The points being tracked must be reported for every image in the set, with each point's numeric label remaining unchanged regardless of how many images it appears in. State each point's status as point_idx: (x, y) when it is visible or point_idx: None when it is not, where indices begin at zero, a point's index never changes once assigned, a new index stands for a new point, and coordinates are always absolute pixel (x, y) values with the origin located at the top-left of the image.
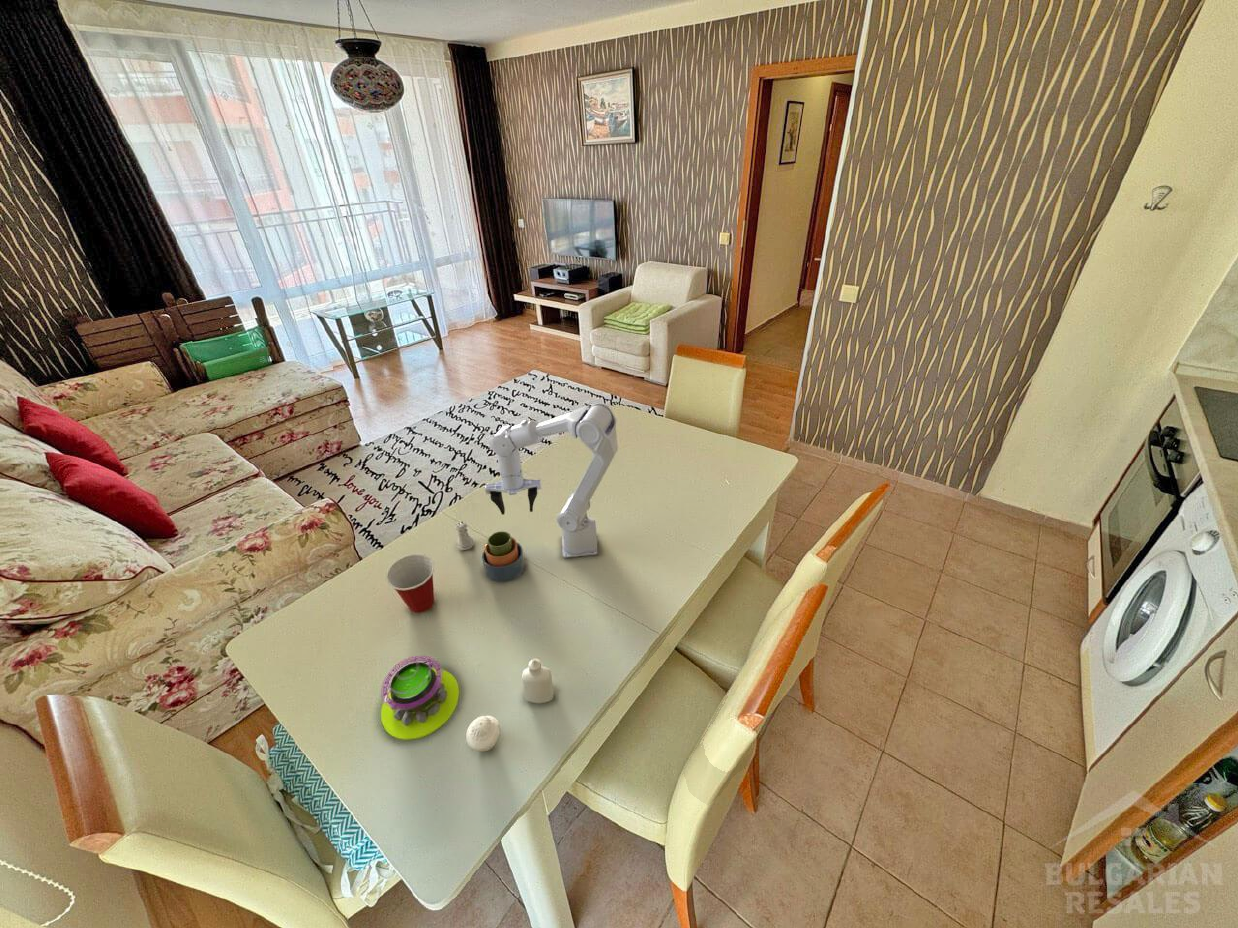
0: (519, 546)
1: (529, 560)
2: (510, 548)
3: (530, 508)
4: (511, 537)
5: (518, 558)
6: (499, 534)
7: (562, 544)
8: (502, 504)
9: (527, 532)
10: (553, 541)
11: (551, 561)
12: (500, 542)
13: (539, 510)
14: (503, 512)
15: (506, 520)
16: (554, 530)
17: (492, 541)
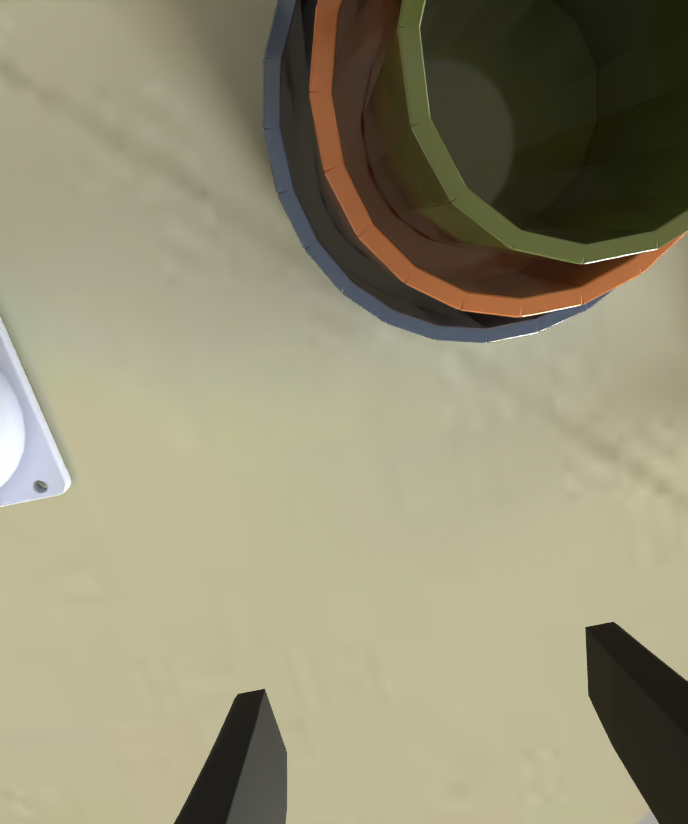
0: (326, 249)
1: (259, 239)
2: (389, 13)
3: (238, 744)
4: (424, 282)
5: (282, 17)
6: (613, 233)
7: (38, 419)
8: (680, 791)
9: (349, 528)
10: (134, 455)
11: (73, 236)
12: (549, 230)
13: (318, 712)
14: (612, 651)
15: (515, 620)
16: (163, 558)
17: (683, 143)
